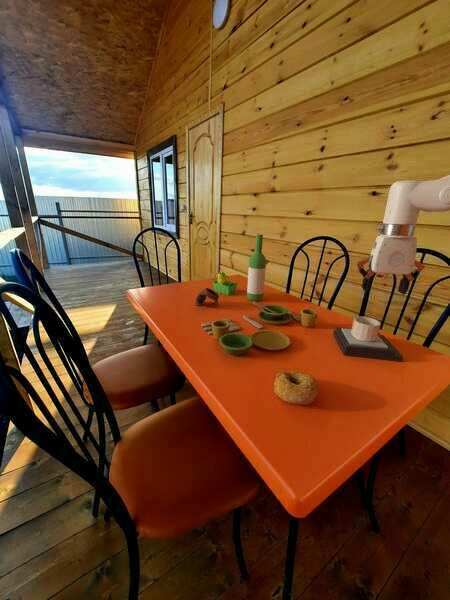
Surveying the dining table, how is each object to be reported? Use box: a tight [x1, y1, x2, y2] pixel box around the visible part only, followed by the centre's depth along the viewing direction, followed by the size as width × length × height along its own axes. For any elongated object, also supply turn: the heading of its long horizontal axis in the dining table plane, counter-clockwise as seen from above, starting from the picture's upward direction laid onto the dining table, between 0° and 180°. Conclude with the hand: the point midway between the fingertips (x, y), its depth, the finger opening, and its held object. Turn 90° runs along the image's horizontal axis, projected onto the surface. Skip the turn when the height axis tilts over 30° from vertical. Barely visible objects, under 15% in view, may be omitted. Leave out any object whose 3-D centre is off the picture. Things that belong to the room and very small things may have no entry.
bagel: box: [273, 370, 320, 406], centre depth 58 cm, size 10×11×5 cm
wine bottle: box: [246, 233, 267, 302], centre depth 117 cm, size 8×8×30 cm
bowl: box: [351, 315, 381, 342], centre depth 79 cm, size 7×7×6 cm
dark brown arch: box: [194, 287, 220, 307], centre depth 111 cm, size 12×10×8 cm
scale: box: [332, 326, 404, 363], centre depth 80 cm, size 16×14×3 cm
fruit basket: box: [212, 271, 239, 296], centre depth 128 cm, size 11×9×11 cm
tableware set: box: [200, 301, 319, 357], centre depth 88 cm, size 41×28×6 cm
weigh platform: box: [341, 327, 388, 349], centre depth 80 cm, size 10×10×2 cm
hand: (383, 292), depth 74 cm, fingers open, 9 cm apart
